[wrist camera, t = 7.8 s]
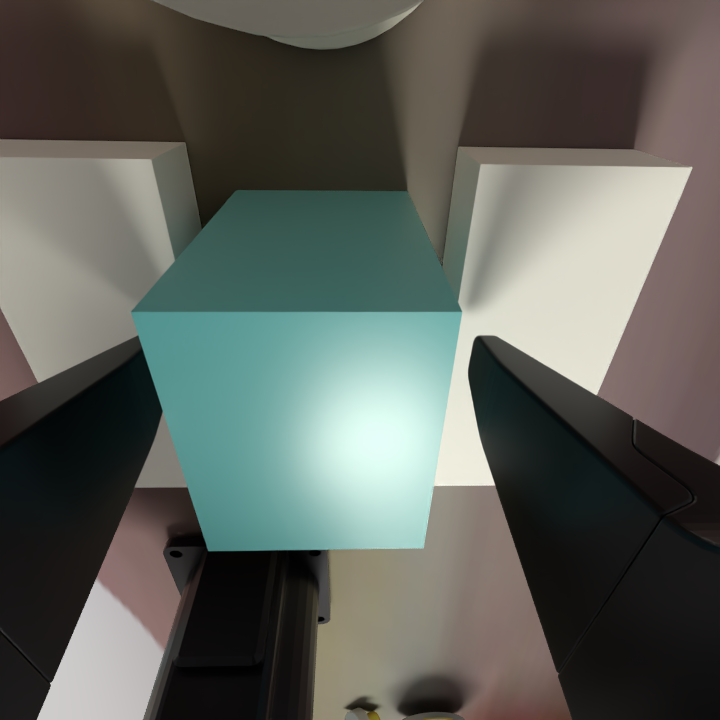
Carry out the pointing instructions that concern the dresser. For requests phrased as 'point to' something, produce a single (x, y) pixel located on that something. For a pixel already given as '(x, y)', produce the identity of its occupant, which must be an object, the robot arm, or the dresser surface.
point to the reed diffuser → (358, 716)
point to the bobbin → (301, 18)
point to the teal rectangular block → (305, 369)
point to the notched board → (460, 264)
